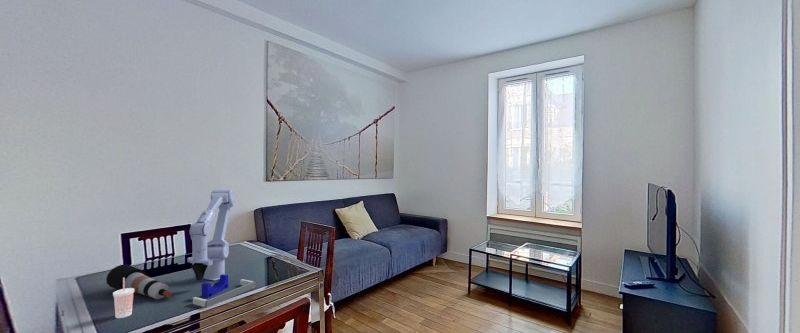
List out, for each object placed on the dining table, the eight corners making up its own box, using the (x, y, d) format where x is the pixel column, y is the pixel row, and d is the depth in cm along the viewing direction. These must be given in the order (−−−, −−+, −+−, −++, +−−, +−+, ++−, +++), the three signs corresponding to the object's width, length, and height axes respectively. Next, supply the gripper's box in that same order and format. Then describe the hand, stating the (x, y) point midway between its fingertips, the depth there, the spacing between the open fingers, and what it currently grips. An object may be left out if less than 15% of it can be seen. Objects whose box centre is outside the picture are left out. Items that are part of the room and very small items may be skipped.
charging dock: (192, 304, 126) (192, 297, 126) (242, 284, 147) (242, 279, 147) (206, 307, 123) (206, 301, 123) (255, 287, 144) (255, 281, 144)
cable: (162, 313, 128) (151, 296, 123) (113, 292, 140) (101, 275, 136) (185, 293, 136) (176, 277, 132) (136, 275, 149) (126, 259, 144)
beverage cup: (138, 312, 119) (138, 275, 119) (120, 320, 113) (120, 281, 113) (126, 310, 120) (126, 274, 120) (108, 318, 114) (108, 279, 114)
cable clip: (219, 287, 144) (219, 274, 144) (228, 287, 144) (228, 274, 144) (198, 297, 133) (198, 283, 133) (207, 298, 132) (207, 284, 132)
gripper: (180, 249, 141) (180, 280, 141) (201, 253, 135) (201, 284, 135) (196, 246, 148) (196, 275, 147) (217, 249, 142) (217, 279, 142)
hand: (199, 279), depth 142 cm, fingers closed
